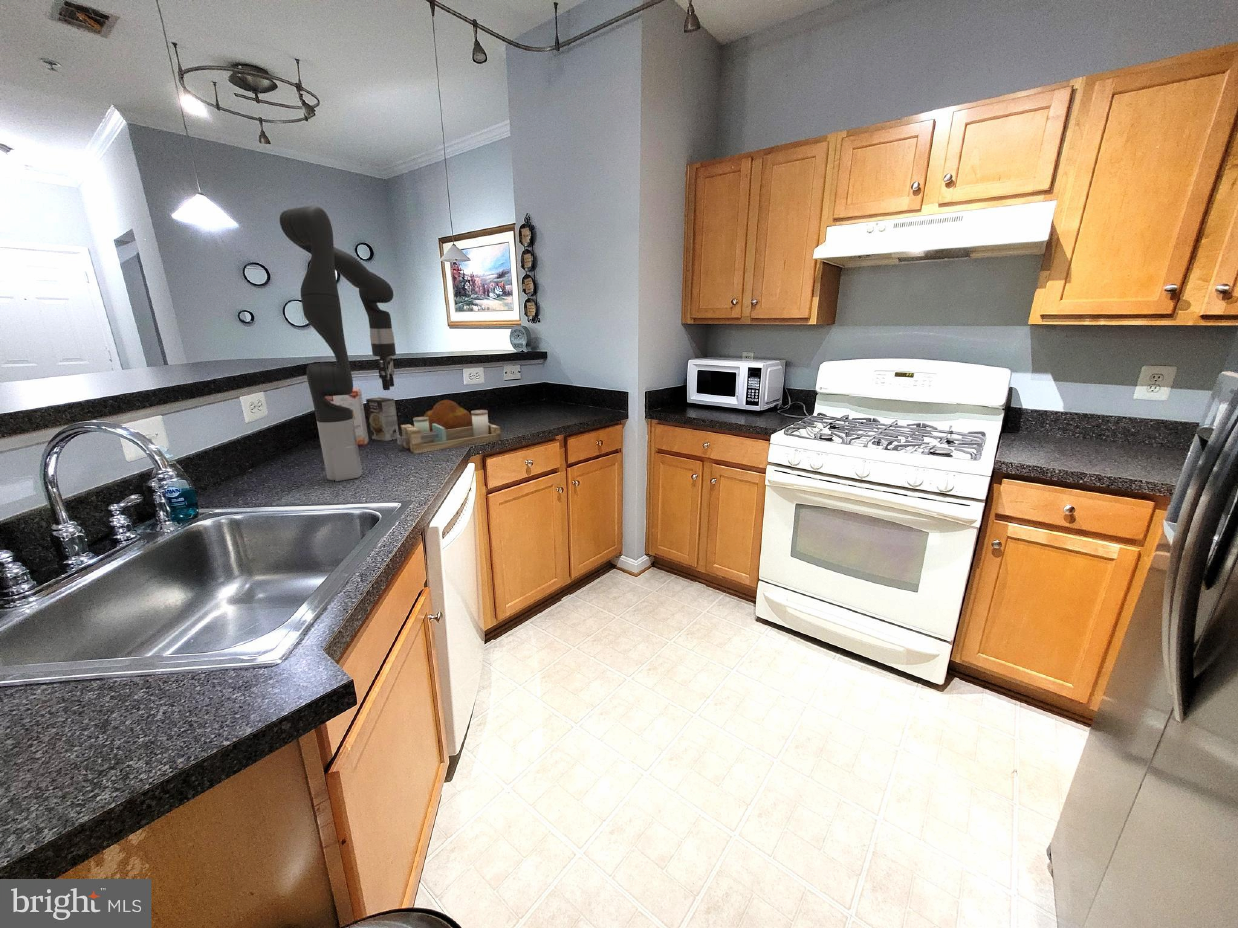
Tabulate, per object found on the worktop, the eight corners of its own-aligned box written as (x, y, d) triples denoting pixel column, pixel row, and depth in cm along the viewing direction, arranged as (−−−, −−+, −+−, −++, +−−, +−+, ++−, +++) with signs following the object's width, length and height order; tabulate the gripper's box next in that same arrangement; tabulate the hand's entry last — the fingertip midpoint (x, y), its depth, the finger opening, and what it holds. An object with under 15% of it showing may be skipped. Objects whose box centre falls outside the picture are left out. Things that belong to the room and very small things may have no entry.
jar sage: (433, 440, 189) (430, 418, 187) (418, 442, 186) (415, 420, 184) (428, 437, 194) (426, 416, 191) (414, 439, 190) (411, 418, 188)
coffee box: (371, 439, 193) (364, 399, 188) (385, 435, 198) (379, 396, 194) (386, 441, 188) (380, 400, 184) (400, 438, 194) (394, 398, 189)
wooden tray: (501, 439, 188) (499, 419, 186) (414, 453, 169) (411, 431, 167) (486, 433, 199) (484, 414, 197) (403, 446, 180) (400, 425, 178)
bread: (412, 437, 196) (408, 407, 192) (434, 422, 227) (431, 396, 223) (465, 435, 197) (462, 405, 194) (479, 420, 229) (477, 394, 225)
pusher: (447, 446, 177) (444, 428, 175) (403, 453, 168) (400, 433, 166) (437, 441, 186) (435, 423, 184) (395, 447, 177) (392, 428, 175)
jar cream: (492, 438, 190) (490, 411, 187) (477, 441, 187) (474, 413, 184) (486, 436, 195) (483, 409, 192) (471, 438, 191) (468, 411, 188)
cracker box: (324, 448, 179) (314, 391, 173) (329, 444, 185) (319, 389, 179) (366, 445, 182) (357, 390, 177) (369, 441, 188) (360, 388, 182)
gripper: (390, 343, 162) (396, 391, 167) (397, 340, 175) (403, 385, 180) (366, 343, 160) (373, 391, 165) (375, 340, 173) (381, 385, 178)
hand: (388, 388), depth 173 cm, fingers open, 8 cm apart
